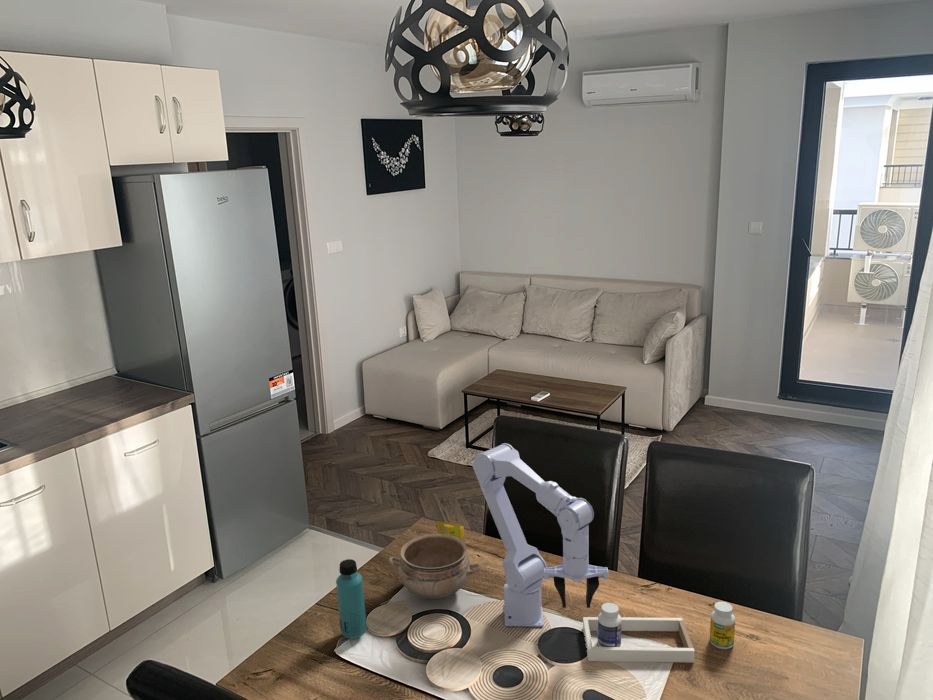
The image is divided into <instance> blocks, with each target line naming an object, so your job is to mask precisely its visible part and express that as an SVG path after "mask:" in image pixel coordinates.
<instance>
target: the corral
mask: <svg viewBox="0 0 933 700" xmlns="http://www.w3.org/2000/svg"><path fill="white" fill-rule="evenodd" d="M621 619H622V626H621V632H623V631H624V632H677V633H678V634H679V637H680V640H681V644H682V646H683V647H642V646H641V647H640V646H639V647H634V646H632V647H629V646H625V647H624V646H620V647H600V646H593V641H592V636H591V631H597V632H598V616H583V617H582V629H583V636H585V637H584V641H585V642H586V643H585V642H584V643H585V649H586V648H587V650H586V654H587V661H588V662H618V663H619V662H624V663H625V662H626V663H627V662H631V663H634V662H635V663H637V662H640V663H695V653H696V652H695V647H694V646H693V643H692V640H691V637H690V635H689V633H688V630H687V628H686V625H685V622H684V619H683V617H641V616H640V617H639V616H638V617H637V616H636V617H633V616H632V617H629V616H628V617H627V616H626V617H624V616H623V617H621Z"/></svg>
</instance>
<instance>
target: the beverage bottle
mask: <svg viewBox="0 0 933 700" xmlns="http://www.w3.org/2000/svg"><path fill="white" fill-rule="evenodd" d="M338 571H339V576H338V577H337V578H336V580H335V583H336V590H337V591H336V595H337V604H338V613H339V614H338V615H339V623H338V624H339V630H340V633H341V634H342V636H343V637H345V638H346V639H356V638H360V637H362V636H363V635H364V634H365V633H366V631H367V628H368V627H367V626H368V625H367V624H368V623H367V614H366V613H367V611H366V607H365V606H366V605H365V596H364V595H365V594H364V585H363V576H362V575H361V574H360V573H359V572H358V566H357V562H356V560H354V559H350V558H349V559H343V560H342V561H341V562H340V563H339V569H338Z"/></svg>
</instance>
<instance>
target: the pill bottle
mask: <svg viewBox="0 0 933 700" xmlns="http://www.w3.org/2000/svg"><path fill="white" fill-rule="evenodd" d="M600 607H601V609H600V613H599V614H598V616H597V617H598V631H597V645H598V647H622V631H621V626H622V619H621V615H620V614H619V613H620V607H619V606H618V605H617V604H615V603H612V602H605V603H603V604H602V605H601V606H600Z"/></svg>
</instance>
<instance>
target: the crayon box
mask: <svg viewBox="0 0 933 700" xmlns="http://www.w3.org/2000/svg"><path fill="white" fill-rule="evenodd" d="M436 525H437V528H436V530H437V534H447V535H452V536H455V537H457V538H459V539H461V540H462V541H463V542H464V543H465V542H466V541H465V526H463V525H461V524H459V523H453V522H445V521H439V520H437V524H436ZM465 544H466V543H465Z"/></svg>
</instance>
